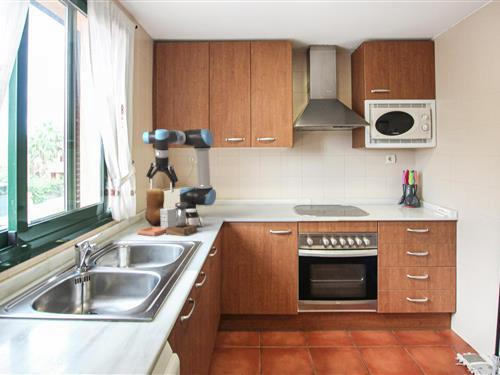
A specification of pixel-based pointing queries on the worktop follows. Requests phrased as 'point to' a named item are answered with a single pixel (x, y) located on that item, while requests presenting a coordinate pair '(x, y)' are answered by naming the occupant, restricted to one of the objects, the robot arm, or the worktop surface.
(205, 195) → the robot arm
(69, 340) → the worktop surface
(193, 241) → the worktop surface
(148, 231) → the tray
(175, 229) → the bore block
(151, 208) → the butternut squash
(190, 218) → the spread jar
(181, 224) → the metal plug
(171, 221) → the supplement box
